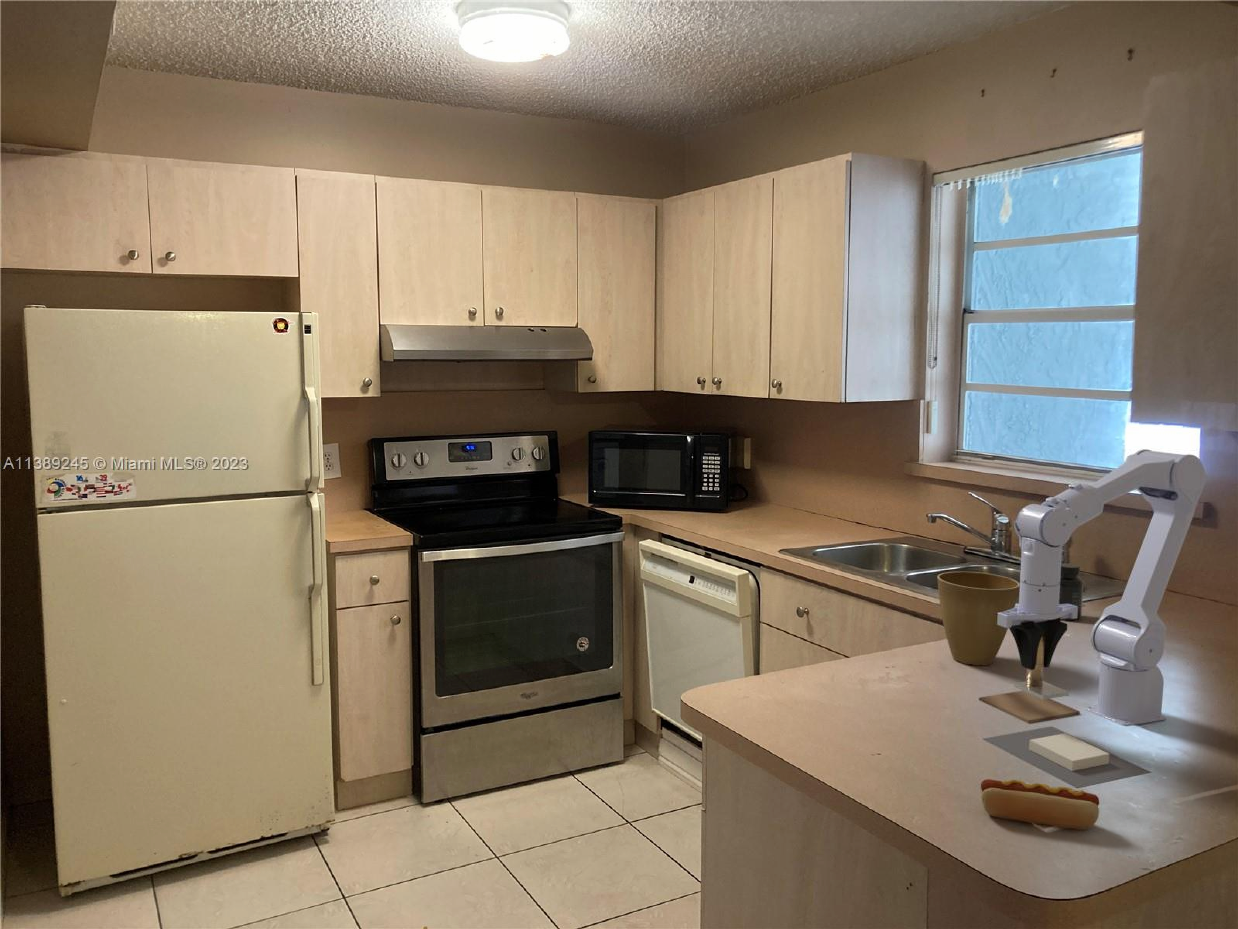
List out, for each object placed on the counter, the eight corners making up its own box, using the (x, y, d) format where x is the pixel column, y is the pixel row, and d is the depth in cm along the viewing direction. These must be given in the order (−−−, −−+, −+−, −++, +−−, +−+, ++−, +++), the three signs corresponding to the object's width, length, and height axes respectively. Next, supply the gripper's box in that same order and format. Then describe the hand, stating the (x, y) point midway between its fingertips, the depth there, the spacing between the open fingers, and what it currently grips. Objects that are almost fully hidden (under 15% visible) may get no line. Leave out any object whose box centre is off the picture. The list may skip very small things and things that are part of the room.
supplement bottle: (1041, 614, 222) (1044, 563, 220) (1065, 612, 224) (1068, 561, 222) (1063, 622, 215) (1066, 569, 214) (1088, 620, 217) (1091, 567, 216)
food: (1093, 820, 125) (1096, 783, 124) (1100, 840, 119) (1103, 801, 119) (978, 803, 129) (980, 767, 128) (980, 822, 124) (981, 785, 123)
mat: (1051, 728, 154) (1051, 726, 154) (1151, 774, 138) (1151, 772, 138) (982, 741, 149) (982, 738, 149) (1076, 790, 132) (1076, 787, 132)
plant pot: (989, 678, 178) (993, 592, 176) (918, 657, 189) (922, 577, 188) (1030, 662, 188) (1034, 580, 186) (960, 643, 199) (964, 567, 197)
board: (1028, 694, 170) (1028, 689, 170) (1079, 716, 160) (1079, 711, 160) (978, 702, 166) (979, 697, 166) (1027, 725, 156) (1027, 720, 155)
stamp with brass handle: (1014, 686, 153) (1017, 633, 152) (1039, 683, 155) (1042, 630, 154) (1043, 699, 148) (1046, 644, 147) (1068, 695, 150) (1071, 641, 149)
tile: (1065, 733, 147) (1109, 753, 140) (1064, 743, 147) (1108, 764, 140) (1029, 740, 145) (1072, 761, 137) (1029, 750, 145) (1071, 771, 137)
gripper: (1054, 572, 157) (1050, 653, 159) (984, 580, 152) (980, 664, 153) (1090, 582, 151) (1085, 666, 152) (1019, 590, 145) (1014, 678, 147)
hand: (1035, 666), depth 153 cm, fingers closed on stamp with brass handle, 2 cm apart
